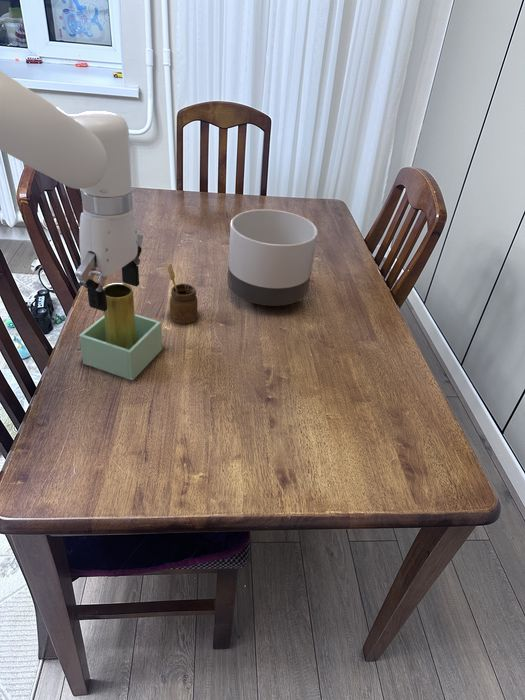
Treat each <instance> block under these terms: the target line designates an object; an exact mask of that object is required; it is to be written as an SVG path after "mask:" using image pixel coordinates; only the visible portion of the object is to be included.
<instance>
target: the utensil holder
mask: <svg viewBox="0 0 525 700" xmlns="http://www.w3.org/2000/svg"><path fill="white" fill-rule="evenodd" d="M167 271H168V275H169V279H170V280H171V281H172V284H173V286H172V288H171V289H170V297H169V316H170V318H171V321H173V322H175V323H177V324H183V325H184V324H185V325H187V324H190V323H194V322H195V321H196V319H197V317H198V297H197V291H196V286H197V285H194V282H195V283H197V280H198V279H197V278H198V277H197V276H195V275H194V274H191V275H190V274H188V275H187V277H186V278H185V280H188V279H189V280H188V283H187V281H185V283H178V284H176V281H175V279H176V275H175V272H174V268H173V265H172V263H169V265H167ZM192 277H194V278H192ZM191 278H192V284H190V281H191ZM194 279H195V281H194Z"/></svg>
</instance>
